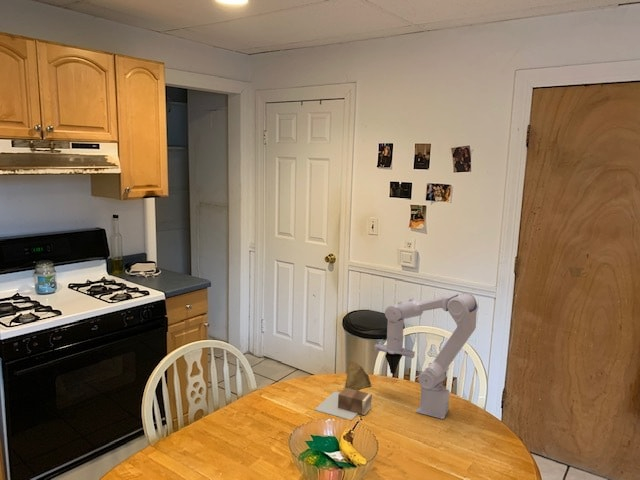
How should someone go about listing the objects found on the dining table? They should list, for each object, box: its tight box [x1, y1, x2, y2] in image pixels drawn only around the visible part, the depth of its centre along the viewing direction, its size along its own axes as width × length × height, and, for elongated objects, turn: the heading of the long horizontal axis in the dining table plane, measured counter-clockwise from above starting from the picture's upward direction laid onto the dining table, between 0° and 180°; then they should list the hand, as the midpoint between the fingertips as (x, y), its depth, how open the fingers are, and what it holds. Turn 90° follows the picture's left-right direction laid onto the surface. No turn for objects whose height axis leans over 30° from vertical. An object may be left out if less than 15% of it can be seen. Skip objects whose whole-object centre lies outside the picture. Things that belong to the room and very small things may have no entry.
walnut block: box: [338, 388, 373, 416], centre depth 167 cm, size 5×6×10 cm
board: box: [313, 390, 358, 420], centre depth 169 cm, size 14×16×1 cm
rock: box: [344, 361, 372, 391], centre depth 183 cm, size 11×9×10 cm
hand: (393, 372), depth 175 cm, fingers closed
